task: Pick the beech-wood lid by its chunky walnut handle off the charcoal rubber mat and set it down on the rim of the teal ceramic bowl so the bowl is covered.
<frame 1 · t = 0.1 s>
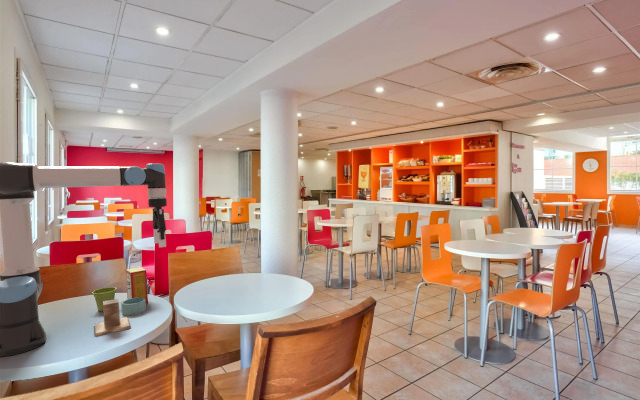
hand: (159, 244, 161), 28 cm above the table, fingers open, 13 cm apart
mat: (112, 328, 137), on the table
bowl: (134, 312, 154), on the table
lid: (112, 327, 137), point 1 cm above the table, touching mat
baking soda box: (137, 302, 168), on the table
plant pot: (105, 309, 160), on the table
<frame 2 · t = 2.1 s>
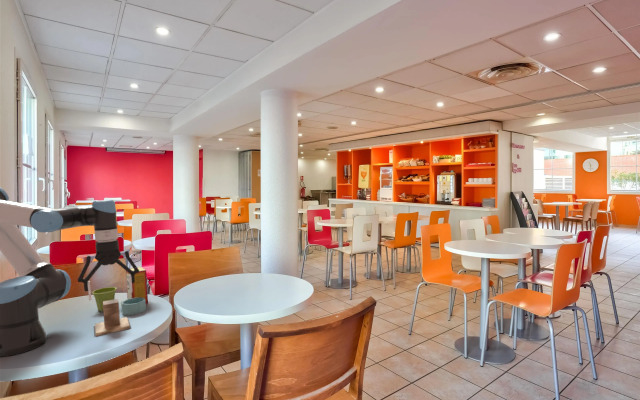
hand: (111, 295, 136), 13 cm above the table, fingers open, 13 cm apart
nothing on the table moved.
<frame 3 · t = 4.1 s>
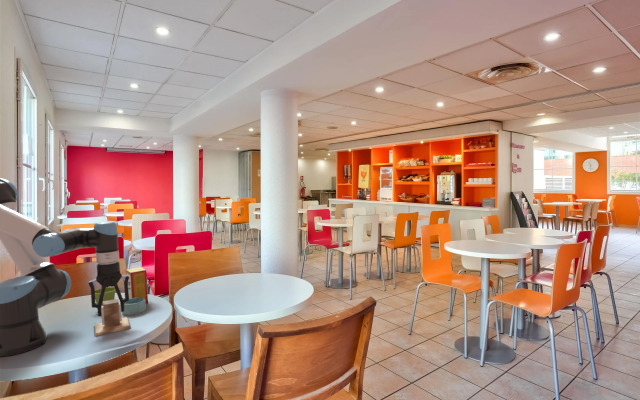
hand: (111, 321, 137), 3 cm above the table, fingers closed on lid, 5 cm apart
lid: (112, 327, 137), point 1 cm above the table, touching gripper, mat
everything else where it was.
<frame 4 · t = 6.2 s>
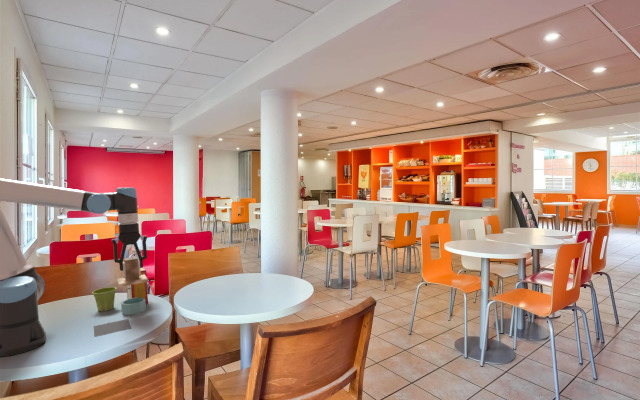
hand: (132, 276, 153), 16 cm above the table, fingers closed on lid, 5 cm apart
lid: (132, 281, 153), point 14 cm above the table, touching gripper
everything else where it was.
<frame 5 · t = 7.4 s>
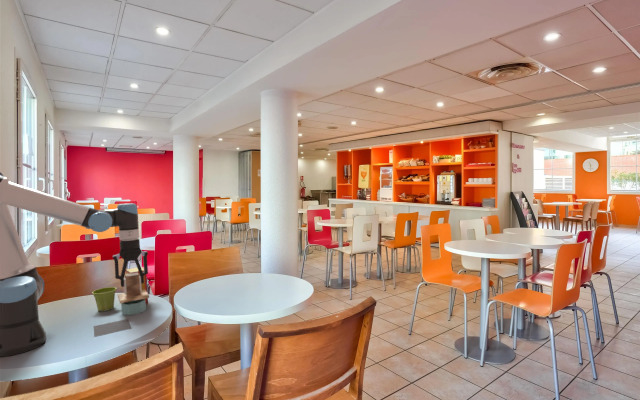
hand: (133, 292, 154), 9 cm above the table, fingers closed on lid, 5 cm apart
lid: (133, 297, 154), point 7 cm above the table, touching gripper
everything else where it was.
when the fingers open (8 cm above the table, at t = 8.2 s): lid drops 1 cm, resting on bowl.
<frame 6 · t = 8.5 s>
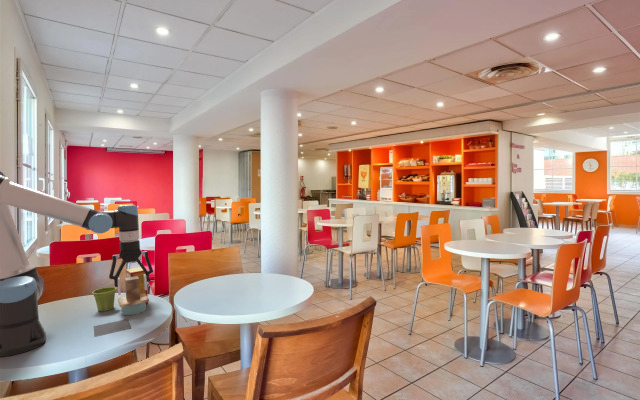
hand: (132, 291, 154), 9 cm above the table, fingers open, 9 cm apart
lid: (133, 301, 154), point 5 cm above the table, touching bowl
everything else where it was.
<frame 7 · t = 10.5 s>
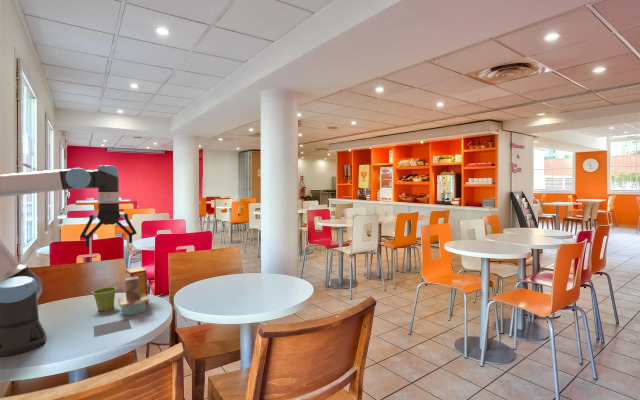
hand: (109, 252, 150), 27 cm above the table, fingers open, 13 cm apart
nothing on the table moved.
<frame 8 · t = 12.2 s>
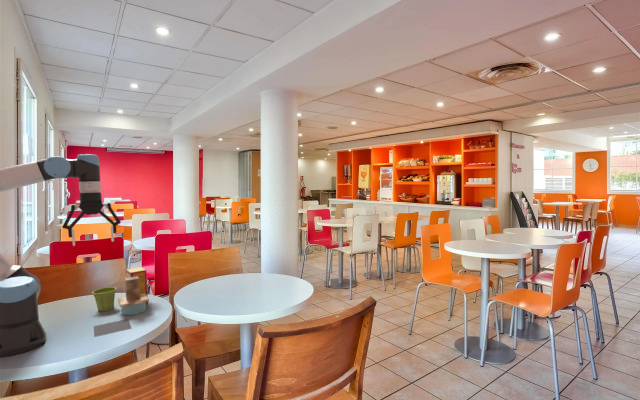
hand: (93, 243, 147), 32 cm above the table, fingers open, 13 cm apart
nothing on the table moved.
at the end: lid 0.1 cm off-centre on the bowl, point 5.0 cm above the bowl's base; lid tilted 0°; the gripper is holding nothing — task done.
